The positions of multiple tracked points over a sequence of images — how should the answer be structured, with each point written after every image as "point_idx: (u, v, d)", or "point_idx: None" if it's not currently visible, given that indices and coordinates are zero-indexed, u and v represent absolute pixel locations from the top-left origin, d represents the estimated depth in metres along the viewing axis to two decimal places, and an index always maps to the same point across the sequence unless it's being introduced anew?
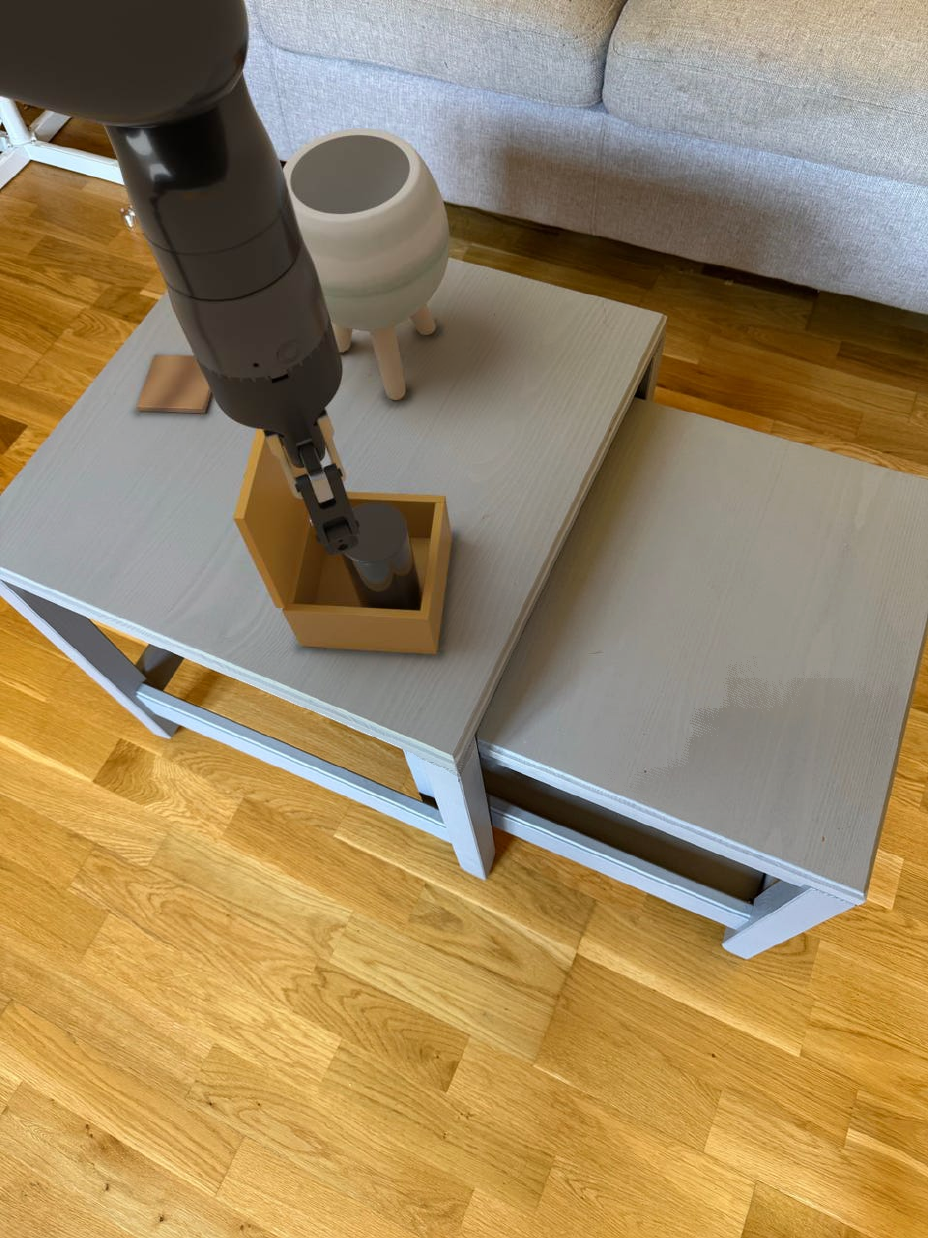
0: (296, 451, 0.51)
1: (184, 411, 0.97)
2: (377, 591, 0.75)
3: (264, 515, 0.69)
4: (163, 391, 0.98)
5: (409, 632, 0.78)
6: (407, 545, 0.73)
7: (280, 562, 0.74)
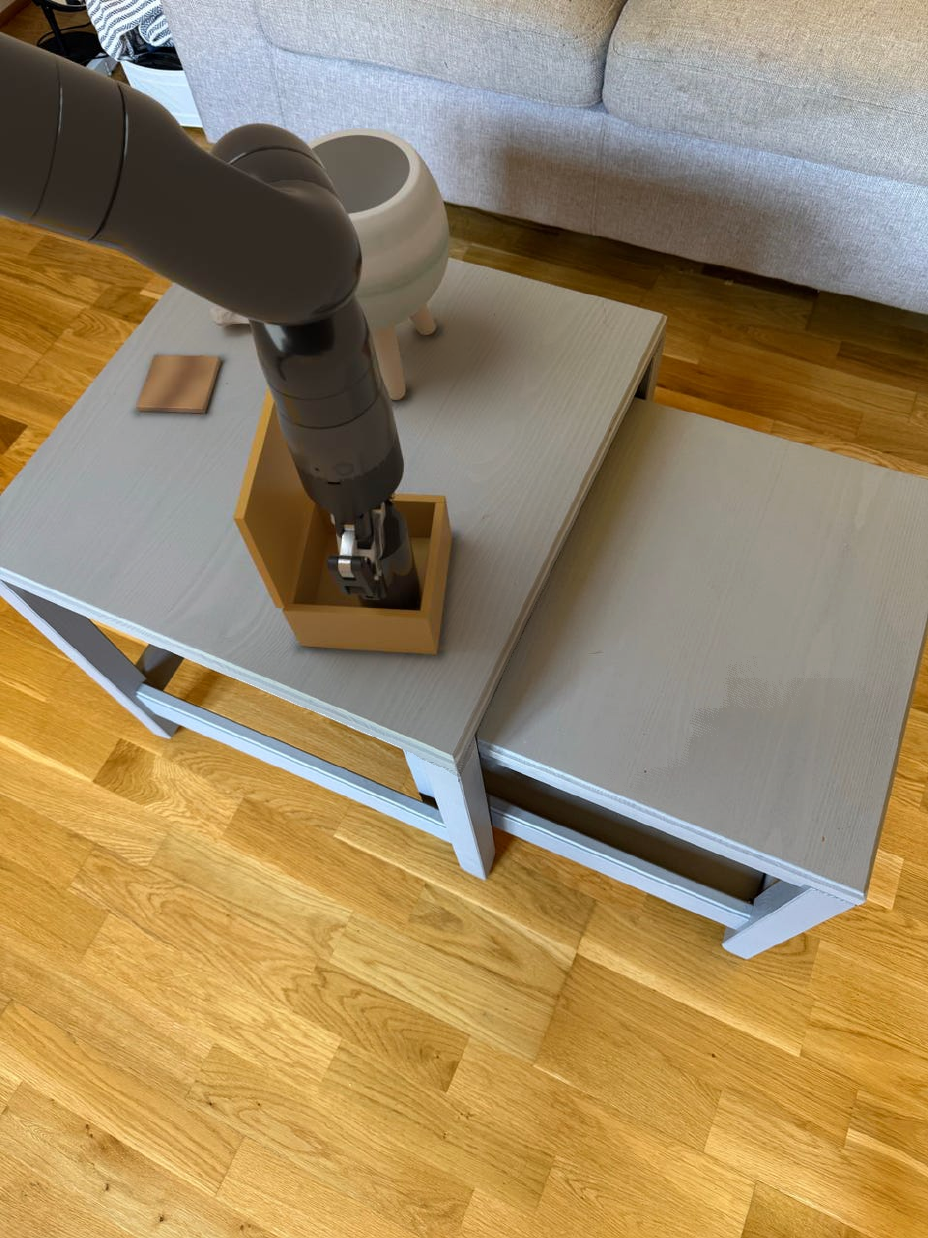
0: (340, 533, 0.65)
1: (184, 411, 0.97)
2: None
3: (264, 515, 0.69)
4: (163, 391, 0.98)
5: (409, 632, 0.78)
6: (407, 545, 0.73)
7: (280, 562, 0.74)
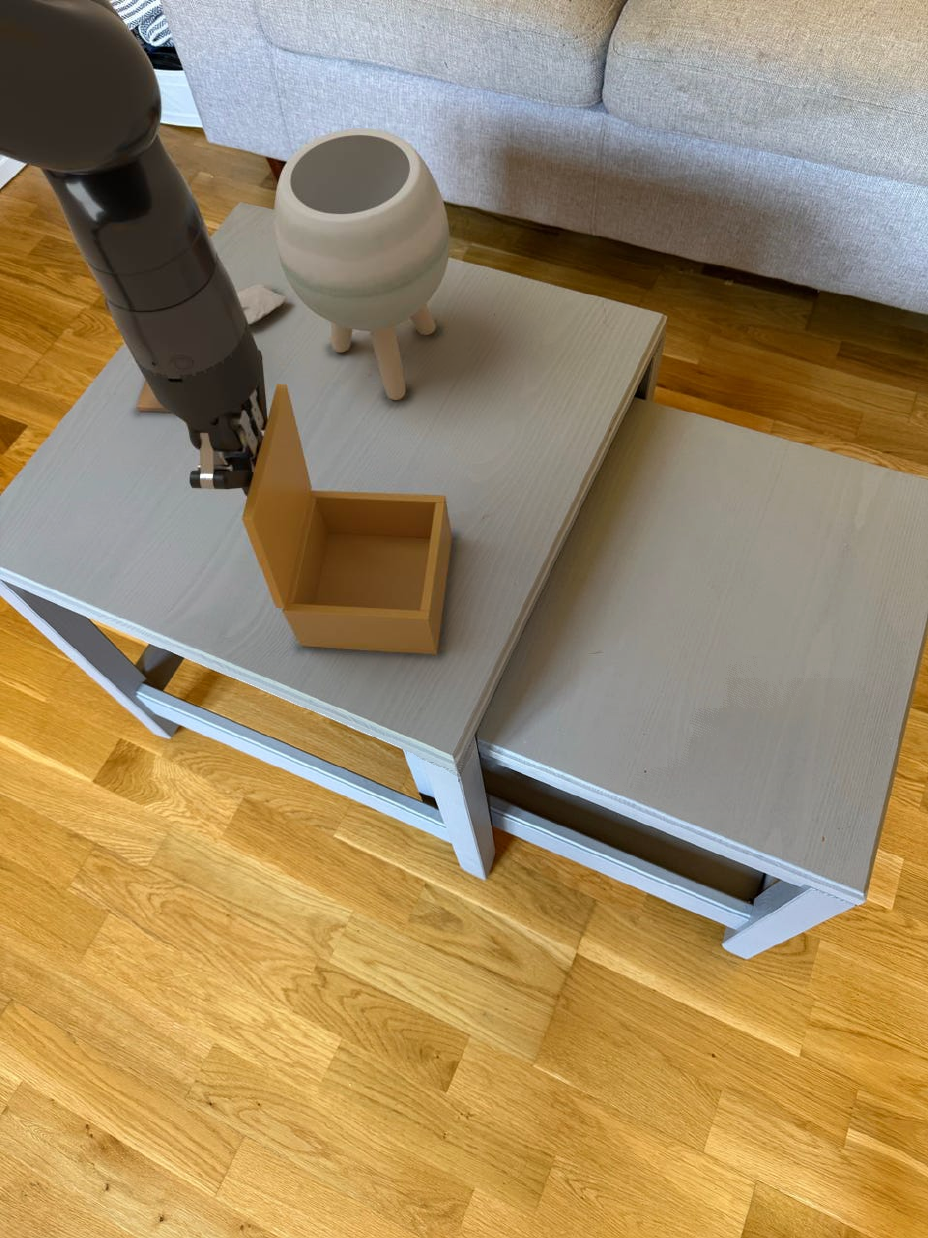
0: (197, 448, 0.61)
1: None
2: None
3: (270, 516, 0.69)
4: None
5: (409, 632, 0.78)
6: None
7: (282, 562, 0.74)
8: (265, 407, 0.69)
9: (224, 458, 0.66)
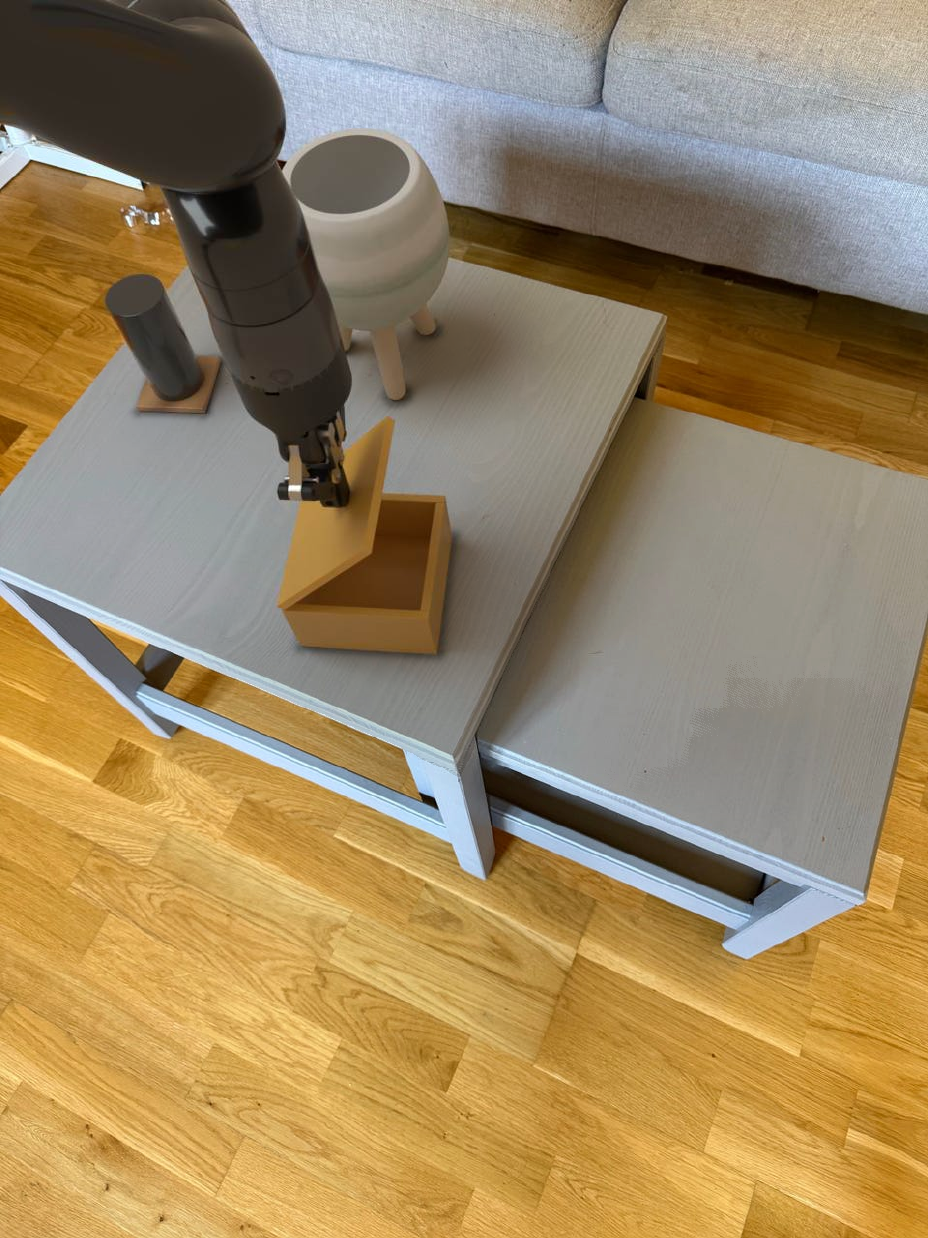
0: (286, 460, 0.61)
1: (184, 411, 0.97)
2: (146, 350, 0.90)
3: None
4: None
5: (409, 632, 0.78)
6: (165, 306, 0.88)
7: None
8: (344, 418, 0.69)
9: (306, 469, 0.67)
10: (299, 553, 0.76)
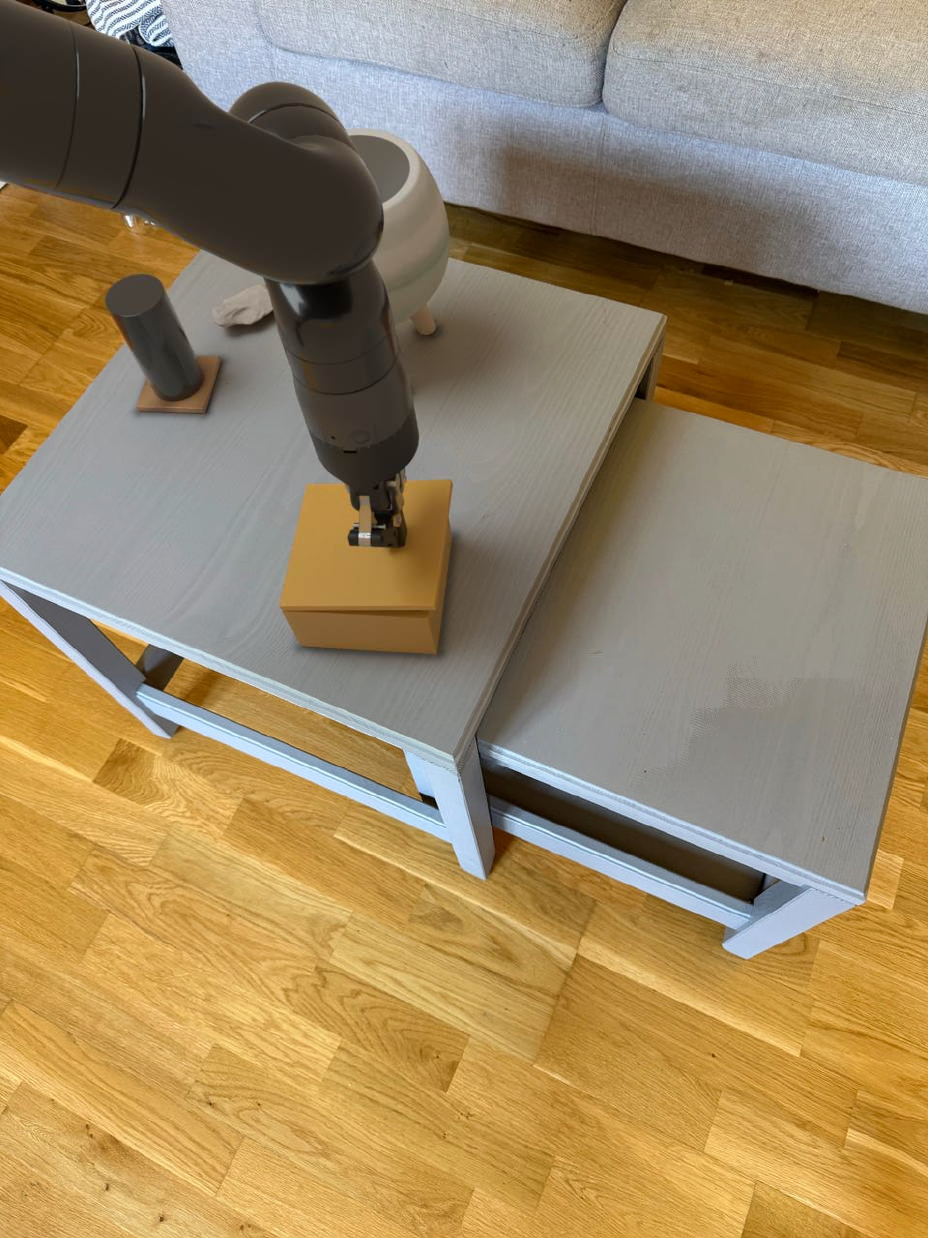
0: (357, 509, 0.66)
1: (184, 411, 0.97)
2: (146, 350, 0.90)
3: None
4: None
5: (409, 632, 0.78)
6: (165, 306, 0.88)
7: None
8: None
9: None
10: (313, 562, 0.77)
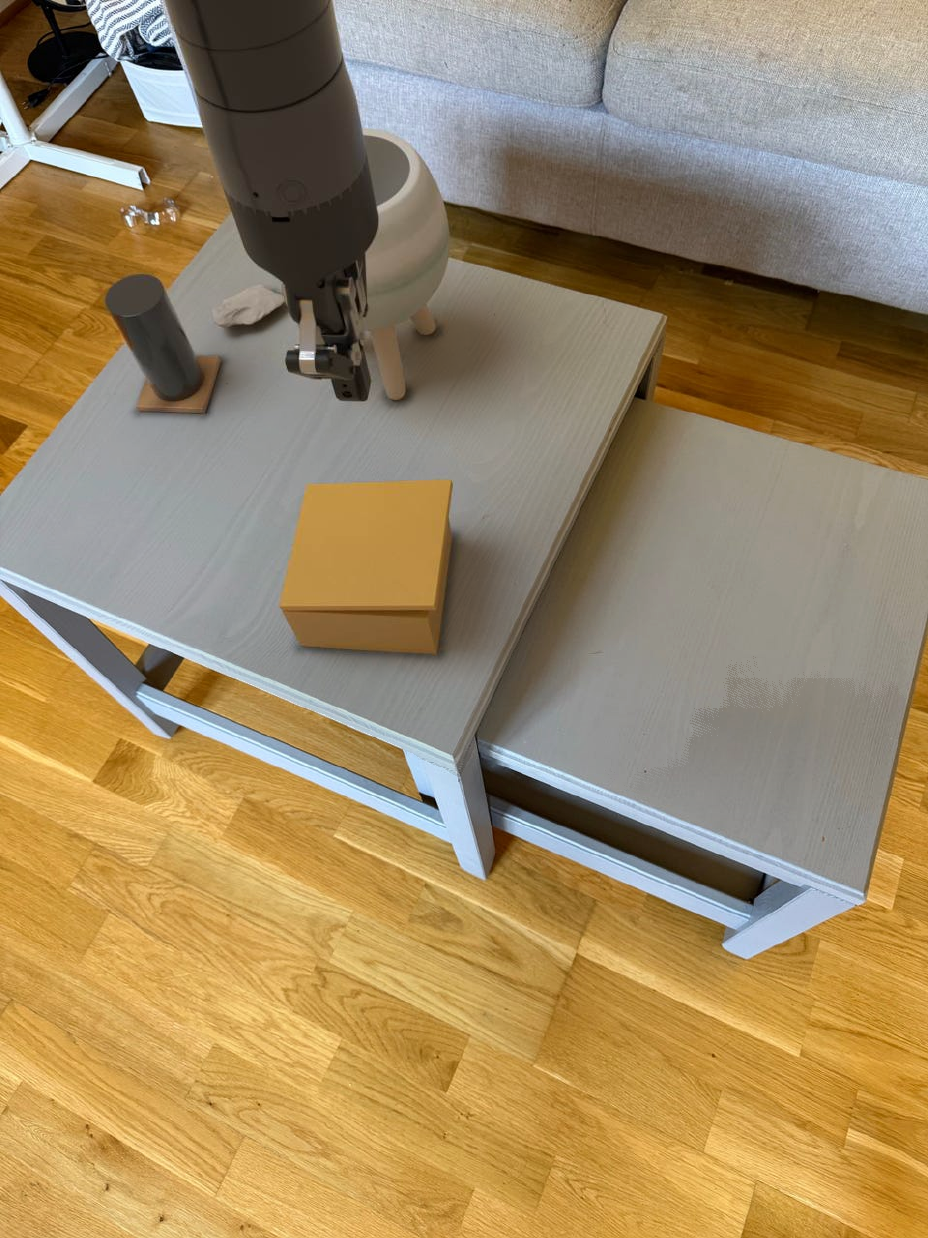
0: (297, 320, 0.49)
1: (184, 411, 0.97)
2: (146, 350, 0.90)
3: None
4: None
5: (409, 632, 0.78)
6: (165, 306, 0.88)
7: None
8: (365, 288, 0.57)
9: None
10: (313, 562, 0.77)
